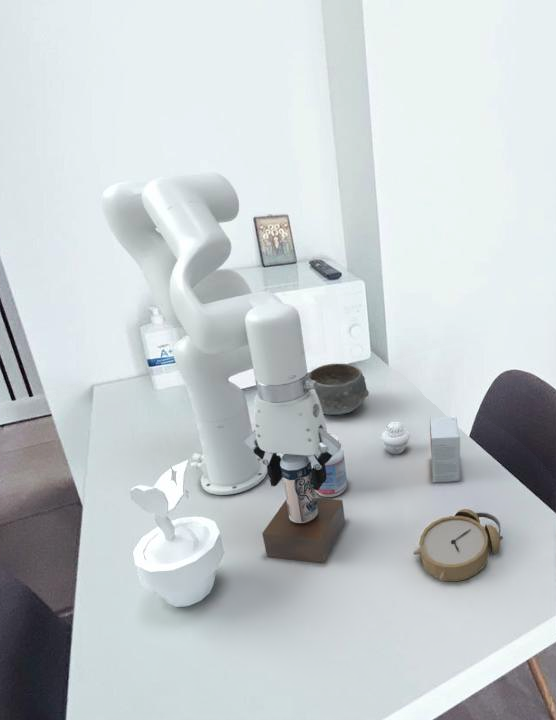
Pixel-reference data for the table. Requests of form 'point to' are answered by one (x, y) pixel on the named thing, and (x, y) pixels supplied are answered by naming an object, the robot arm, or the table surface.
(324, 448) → the pill bottle
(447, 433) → the small box
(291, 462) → the beer can
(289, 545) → the block
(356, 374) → the bowl
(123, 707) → the table surface
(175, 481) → the potted plant
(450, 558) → the alarm clock
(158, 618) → the table surface
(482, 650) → the table surface
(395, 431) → the muffin
